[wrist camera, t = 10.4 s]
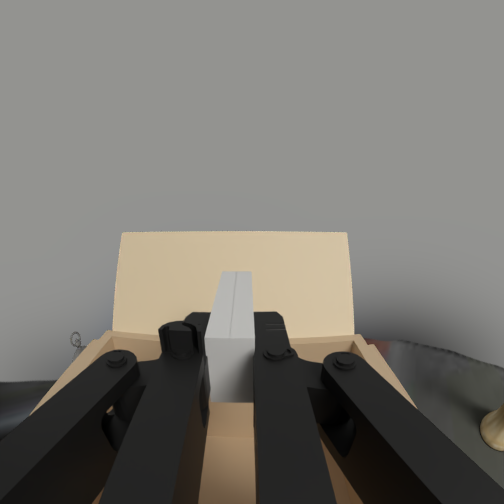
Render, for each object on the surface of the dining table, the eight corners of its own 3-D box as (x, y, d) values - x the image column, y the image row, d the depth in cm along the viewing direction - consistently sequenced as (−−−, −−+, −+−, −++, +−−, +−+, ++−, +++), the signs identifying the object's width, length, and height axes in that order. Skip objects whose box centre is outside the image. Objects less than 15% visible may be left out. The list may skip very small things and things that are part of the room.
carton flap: (346, 232, 27) (345, 234, 28) (122, 232, 27) (124, 234, 27) (354, 334, 24) (352, 334, 25) (112, 330, 24) (115, 330, 24)
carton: (383, 573, 7) (481, 517, 4) (80, 558, 7) (-21, 486, 4) (340, 429, 27) (365, 333, 24) (132, 424, 27) (102, 329, 24)
